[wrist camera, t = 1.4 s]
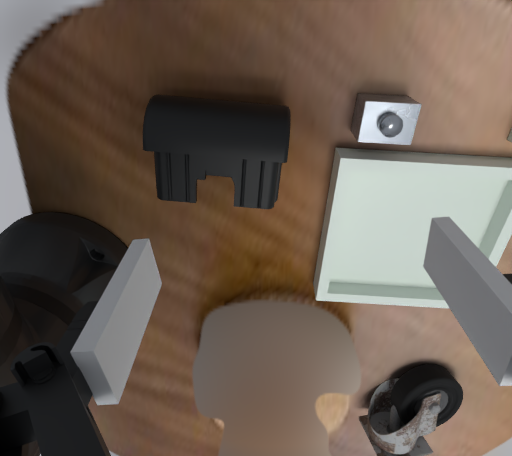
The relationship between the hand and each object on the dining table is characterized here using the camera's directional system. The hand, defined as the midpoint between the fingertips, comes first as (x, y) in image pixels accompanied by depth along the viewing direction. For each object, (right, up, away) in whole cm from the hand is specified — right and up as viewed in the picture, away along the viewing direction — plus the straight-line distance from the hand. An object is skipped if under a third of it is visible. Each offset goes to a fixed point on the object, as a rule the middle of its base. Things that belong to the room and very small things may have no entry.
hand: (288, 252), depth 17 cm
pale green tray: (+13, +3, +16) cm, 21 cm away
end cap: (-4, +9, +14) cm, 17 cm away
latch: (+8, +10, +12) cm, 18 cm away
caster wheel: (+18, -19, +30) cm, 40 cm away
